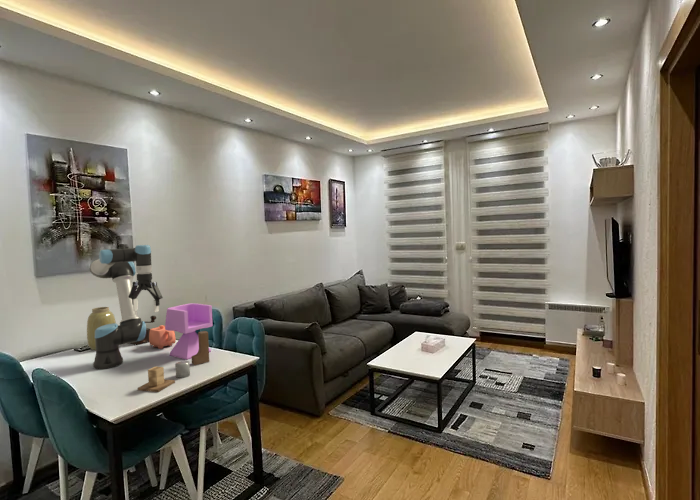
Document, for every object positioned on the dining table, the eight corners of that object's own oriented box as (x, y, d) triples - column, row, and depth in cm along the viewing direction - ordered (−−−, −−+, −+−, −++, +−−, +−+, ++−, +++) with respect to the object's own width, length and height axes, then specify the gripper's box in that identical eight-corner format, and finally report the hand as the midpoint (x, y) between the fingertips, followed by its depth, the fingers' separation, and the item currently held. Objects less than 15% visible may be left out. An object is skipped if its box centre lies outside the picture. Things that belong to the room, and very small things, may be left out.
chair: (186, 360, 236) (184, 311, 235) (166, 355, 247) (164, 308, 245) (213, 351, 253) (211, 305, 251) (194, 347, 264) (191, 302, 262)
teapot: (144, 346, 269) (143, 325, 268) (162, 341, 279) (161, 321, 278) (162, 351, 257) (161, 329, 256) (180, 346, 267) (179, 325, 266)
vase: (107, 351, 259) (105, 310, 257) (81, 351, 259) (79, 311, 258) (122, 343, 276) (120, 305, 275) (98, 343, 276) (96, 305, 275)
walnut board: (137, 390, 194) (137, 387, 194) (155, 380, 206) (155, 378, 206) (158, 392, 191) (158, 389, 191) (174, 382, 203) (174, 380, 203)
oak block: (148, 385, 197) (147, 370, 196) (155, 381, 202) (155, 366, 201) (157, 386, 196) (156, 370, 195) (164, 382, 200) (163, 367, 200)
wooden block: (194, 365, 228) (192, 335, 227) (191, 363, 231) (190, 333, 230) (209, 361, 234) (208, 332, 232) (206, 360, 237) (205, 330, 236)
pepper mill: (136, 345, 270) (135, 319, 269) (128, 343, 277) (127, 317, 276) (158, 340, 283) (157, 315, 282) (151, 337, 289) (149, 313, 288)
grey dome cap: (173, 377, 210) (172, 365, 209) (181, 373, 217) (180, 360, 216) (184, 378, 208) (183, 365, 208) (192, 373, 215) (192, 361, 214)
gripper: (120, 273, 216) (122, 311, 217) (158, 274, 210) (160, 313, 211) (130, 271, 223) (132, 308, 225) (168, 272, 217) (170, 310, 219)
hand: (146, 311), depth 218 cm, fingers open, 13 cm apart
